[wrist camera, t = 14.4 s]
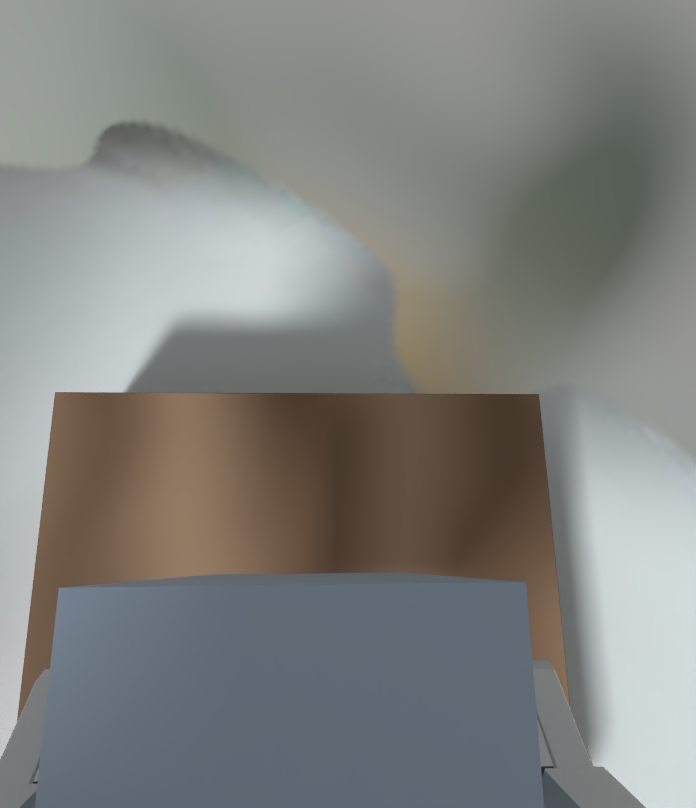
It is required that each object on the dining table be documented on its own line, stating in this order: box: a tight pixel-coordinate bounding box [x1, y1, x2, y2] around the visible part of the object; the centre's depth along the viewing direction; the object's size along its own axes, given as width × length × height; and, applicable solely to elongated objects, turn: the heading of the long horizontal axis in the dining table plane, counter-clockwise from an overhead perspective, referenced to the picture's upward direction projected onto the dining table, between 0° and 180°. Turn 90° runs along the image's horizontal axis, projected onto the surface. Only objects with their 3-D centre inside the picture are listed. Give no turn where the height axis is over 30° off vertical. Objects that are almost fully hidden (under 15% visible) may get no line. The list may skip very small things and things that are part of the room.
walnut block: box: [17, 392, 570, 721], centre depth 20 cm, size 16×16×5 cm
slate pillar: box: [35, 572, 544, 808], centre depth 10 cm, size 4×4×9 cm
